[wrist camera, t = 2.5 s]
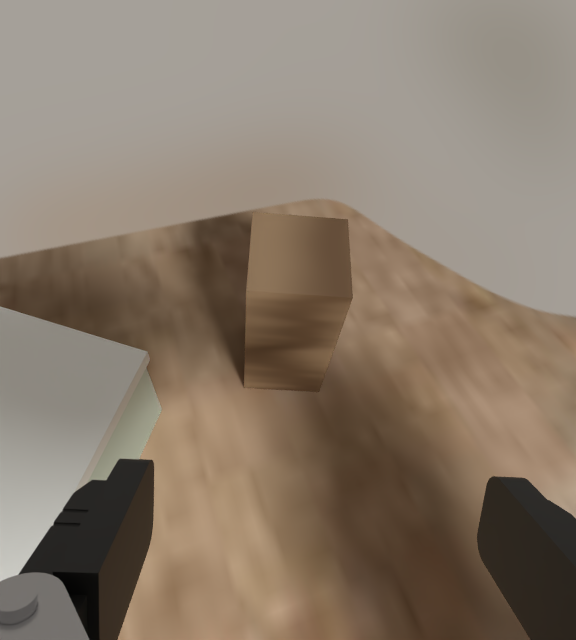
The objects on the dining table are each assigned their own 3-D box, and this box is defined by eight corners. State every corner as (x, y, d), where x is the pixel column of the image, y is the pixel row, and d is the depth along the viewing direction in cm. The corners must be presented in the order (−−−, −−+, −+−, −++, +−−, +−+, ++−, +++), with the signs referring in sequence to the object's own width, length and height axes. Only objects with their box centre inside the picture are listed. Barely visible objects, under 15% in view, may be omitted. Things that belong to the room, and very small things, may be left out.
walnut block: (244, 387, 28) (246, 290, 20) (248, 323, 31) (252, 211, 22) (319, 392, 29) (352, 297, 20) (318, 327, 31) (347, 219, 22)
